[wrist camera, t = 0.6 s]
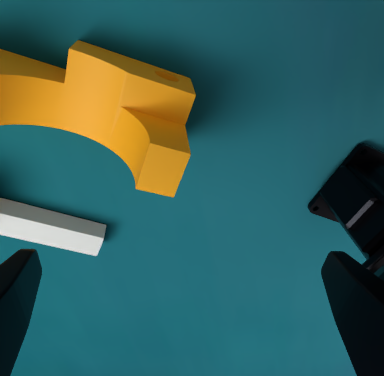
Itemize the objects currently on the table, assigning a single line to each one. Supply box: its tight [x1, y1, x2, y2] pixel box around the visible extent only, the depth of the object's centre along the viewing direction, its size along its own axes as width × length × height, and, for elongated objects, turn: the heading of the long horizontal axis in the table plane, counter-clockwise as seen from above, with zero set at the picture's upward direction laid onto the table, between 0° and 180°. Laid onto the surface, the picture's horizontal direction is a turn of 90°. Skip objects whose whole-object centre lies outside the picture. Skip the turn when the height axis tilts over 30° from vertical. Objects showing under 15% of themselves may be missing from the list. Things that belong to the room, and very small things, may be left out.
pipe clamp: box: [0, 40, 196, 197], centre depth 15 cm, size 12×4×6 cm, turn 70°
